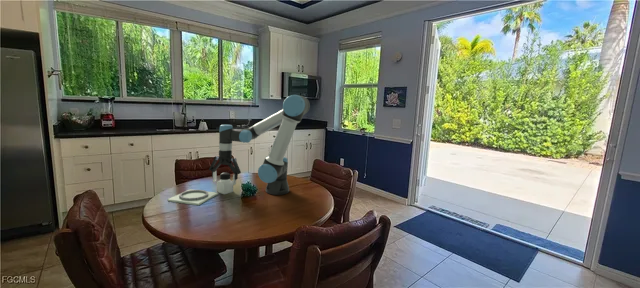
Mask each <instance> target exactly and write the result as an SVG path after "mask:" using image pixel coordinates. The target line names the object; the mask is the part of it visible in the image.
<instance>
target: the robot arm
mask: <svg viewBox="0 0 640 288" xmlns="http://www.w3.org/2000/svg"><path fill="white" fill-rule="evenodd" d="M310 107H311V105H310V101H309V99H308V98H307V97H305V96H303V95H298V94H291V95H288V96H287V97H286V98H285V99H284V100H283V103H282V109H281V110H279V111H278V112H276V113H273V114H271V115H270V116H268V117H267V118H264V119H262V120H260V121H259V122H257V123H255V124H254V125H252V126H250V127H248V128H242V129H239V128H238V129H237V128H233V125H232V124H221V125H219V132H218V133H219V137H218V138H219V139H218V140H219V142H218V149H219V150H218V155H216V156H214V157H213V161H212V162H211V164H210V167H209V169H208V171H211V177H212V182H213V183H215V182H216V183H217V169H218V168H219V167H221V165H222V166H223V165H225V166H227V167H228V168H229V169H230V170H231V171H232V173H233V174H232V181H233V186H235V185H237V180H238V177H239V176H238V175H240V174H241V169H240V167H239V165H238V162H237V158H236V157H235V158H232V155H233V153H232V152H233V150H232V149H233V142H237V143H243V144H244V143H245V144H246V143H247V144H248V143H250V142H251V141H252V140H255V139H257V138H258V137H260V136H261V135H264V134H265V133H268V132H269V131H270V130H273V129H274V128H276V127H278V126H279V128H278V130H277V133H276V136H275V138H274V141H273V144H272V146H271V149H270V152H269V155H267V156H265V157H264V160H263V162H262V164H261V165H260V166H259V167H258V170H257V176H258V177H259V179H260V180H261V181H262V182H263V183H265V184H266V187H265V192H266V193H267V194H269V195H273V196H281V195H286V194H288V193H289V192H290V186H289V183H288V168H289V167H288V164H289V161H288V158H287V157H286V156H285V155H286V153H287V151H288V148H289V145H290V143H291V140H292V139H293V135H294V133H295V130H296V127H297V125H298V124H299V123H301V122H302V120H303V117H304V115H306V114H307V113H308V112H309V111H310Z"/></svg>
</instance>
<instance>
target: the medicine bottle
mask: <svg viewBox="0 0 640 288" xmlns="http://www.w3.org/2000/svg"><path fill="white" fill-rule="evenodd" d="M233 192H234V185H233V180H231V173H229V172H222V173H220V174H219V180H216V193H218V194H222V195H227V194H231V193H233Z"/></svg>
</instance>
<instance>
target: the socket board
mask: <svg viewBox="0 0 640 288" xmlns="http://www.w3.org/2000/svg"><path fill="white" fill-rule="evenodd" d="M217 195H219V193H218V192H217V191H216V192H214V191H207V190H204V189H193V188H192V189H187V190H185V191H183V192H180V193H178V194H176V195H174V196H172V197H170V198H169V197H168V198H167V201H168V202H172V203H179V204H187V205H193V206H200V205H202V204H204V203H206V202H207V201H209V200H211V199H213V198H215V197H216V196H217Z"/></svg>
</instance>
